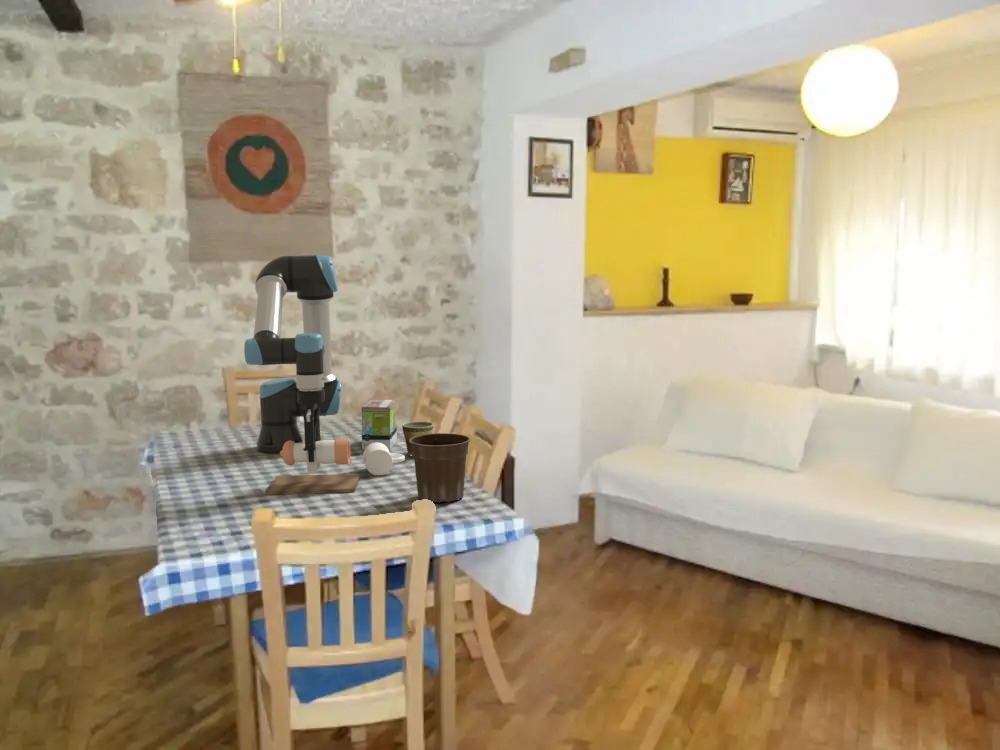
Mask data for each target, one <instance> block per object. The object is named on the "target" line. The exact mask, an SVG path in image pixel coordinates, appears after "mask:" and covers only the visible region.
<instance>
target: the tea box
mask: <svg viewBox="0 0 1000 750" xmlns="http://www.w3.org/2000/svg"><path fill="white" fill-rule="evenodd" d="M397 414H398V412H397V400H396V399H369V400H367V401H366V402H365V403H364V404H363V405H362V406H361V450H363V451H364V450H365V449H366V447H367V446H368V445H370V444H372V443H376V442H378V443H382V444H384V445H385V446H386V447H387V448H388V450H389V451H390V450H391V449H392V447H393V446H394V445H395V443H396V442H397V439H398V435H397V434H398V433H397V432H398V431H397V430H398V427H397V426H398V425H397V422H398V421H397V420H398V419H397V418H398V417H397Z"/></svg>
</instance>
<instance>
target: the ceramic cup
mask: <svg viewBox="0 0 1000 750" xmlns="http://www.w3.org/2000/svg"><path fill="white" fill-rule="evenodd" d="M401 427H402V433H403V437H404V440H405V444H406V449H407V455H408V456H409V455H412V456H413V454H412V446H411V443H410V442H409V440H410V438H412V437H415V436H419V435H425V434H433V430H434V423H432V422H429V421H409V422H405V423H403V424H402V426H401Z"/></svg>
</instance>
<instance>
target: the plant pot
mask: <svg viewBox="0 0 1000 750" xmlns="http://www.w3.org/2000/svg"><path fill="white" fill-rule="evenodd" d="M409 442H410V443H411V446H412V454H413V456H414V457H413V460H414V469H415V470H414V471H415V478H416V480H415V481H416V488H417V497H418V499H419V500H420V499H428V500H431V501H433V502H439V503H438V504H441V503H443V502H446V503H451V502H450V501H454V502H456V501H455V500H458V499H460V498H462V497H463V498H464V492H465V490H464V489H465V479H466V478H465V477H466V466H467V455H468V453H469V443H470V442H471V437H470V436H468V435H465V434H459V433H449V432H448V433H447V432H446V433H443V432H441V433H440V432H438V433H437V432H436V433H432V434H425V435H419V436H415V437H412V438H410V440H409ZM463 498H462V499H463ZM460 500H461V499H460ZM458 501H459V500H458ZM440 502H441V503H440Z"/></svg>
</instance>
